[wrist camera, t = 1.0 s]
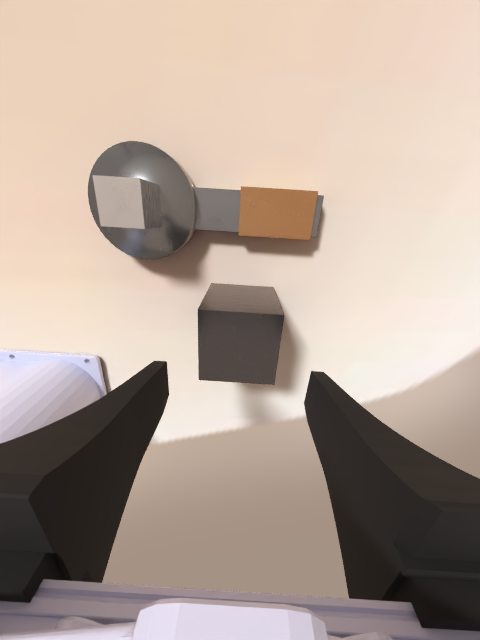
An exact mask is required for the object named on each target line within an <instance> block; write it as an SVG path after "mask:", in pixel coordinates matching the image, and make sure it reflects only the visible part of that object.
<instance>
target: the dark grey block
mask: <svg viewBox="0 0 480 640" xmlns="http://www.w3.org/2000/svg"><path fill="white" fill-rule="evenodd" d="M283 319H284V313H283V311H282V308H281V306H280V303H279V300H278V298H277V295H276V293H275V290H274V287H261V286H245V285H230V284H214V283H211V285H210V287H209V289H208V291H207V293H206V295H205V297H204V299H203V301H202V303H201V304H200V306H199V308H198V355H199V380H208V381H224V382H240V383H256V384H272V385H274V382H275V375H276V368H277V361H278V354H279V347H280V340H281V333H282V326H283Z"/></svg>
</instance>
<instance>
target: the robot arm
mask: <svg viewBox="0 0 480 640" xmlns="http://www.w3.org/2000/svg"><path fill="white" fill-rule="evenodd" d="M87 359H88V360H89V361H88V360H87ZM168 396H169V388H168V374H167V362H164V361H153V362H152V363H151V364H149V365H148V366H146V367H145V368H144V369H142V370H141V371H140V372H138V373H137V374H136V375H134V376H133V377H131V378H130V379H129V380H127V381H126V382H125V383H123V384H122V385H120V386H119V387H117V388H115V389H114V390H112V391H111V392H109V393H108V394H107V391H106V387H105V382H104V377H103V372H102V367H101V363H100V359H99V358H98V357H97V356H95V355H81V354H65V353H49V352H33V351H17V350H0V640H480V479H478V478H476V477H474V476H472V475H470V474H468V473H466V472H464V471H462V470H460V469H458V468H456V467H454V466H452V465H451V464H449V463H447V462H445V461H443V460H441V459H439V458H438V457H436V456H434V455H432V454H431V453H429V452H427V451H425V450H424V449H422V448H420V447H419V446H417V445H415V444H414V443H412V442H410V441H409V440H407V439H406V438H404V437H403V436H401V435H399V434H398V433H397V432H395V431H394V430H392V429H391V428H389V427H388V426H387V425H385V424H384V423H382V422H381V421H380V420H378V419H377V418H376V417H374V416H373V415H372V414H371V413H369V412H368V411H367V410H366V409H364V408H363V407H362V406H361V405H360V404H358V403H357V402H356V401H355V400H354V399H353V398H352V397H350V396H349V395H348V394H347V393H346V392H345V391H344V390H343V389H342V388H341V387H339V386H338V385H337V384H336V383H335V382H334V381H333V380H332V379H331V378H330V377H329V376H327V375H326V374H325V373H324V372H314V371H311V375H310V379H309V384H308V388H307V393H306V397H305V402H304V405H305V411H306V416H307V421H308V425H309V427H310V430H311V434H312V437H313V440H314V443H315V446H316V449H317V452H318V455H319V458H320V461H321V464H322V467H323V471H324V474H325V478H326V481H327V486H328V490H329V494H330V499H331V503H332V508H333V513H334V518H335V522H336V527H337V532H338V538H339V543H340V548H341V553H342V558H343V565H344V570H345V576H346V582H347V588H348V594H349V599H347V598H331V597H315V596H299V595H284V594H269V593H252V592H237V591H222V590H221V591H220V590H205V589H189V588H175V587H158V586H143V585H128V584H112V583H102V580H103V577H104V573H105V570H106V566H107V563H108V560H109V557H110V553H111V550H112V546H113V543H114V540H115V537H116V533H117V530H118V527H119V524H120V521H121V518H122V514H123V512H124V509H125V505H126V502H127V499H128V496H129V493H130V491H131V488H132V485H133V482H134V479H135V476H136V474H137V471H138V468H139V465H140V463H141V460H142V458H143V456H144V454H145V451H146V449H147V447H148V445H149V443H150V441H151V438H152V436H153V434H154V432H155V430H156V428H157V426H158V423H159V421H160V419H161V417H162V414H163V412H164V409H165V406H166V403H167V399H168Z"/></svg>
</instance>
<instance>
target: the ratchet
mask: <svg viewBox="0 0 480 640" xmlns="http://www.w3.org/2000/svg"><path fill="white" fill-rule="evenodd" d="M323 197H324V196H321V195H318V191H304V190H289V189H273V188H257V187H242V186H241V190H226V189H211V188H195V186H194V184H193V182H192V180H191V178H190V177H189V175H188V174H187V172H186V171H185V170H184V168H183V167H182V166H181V165H180V164H179V163H178V162H176V161H175V160H174V159H173V158H171V157H170V156H169V155H168V154H166V153H165V152H164V151H162V150H160V149H159V148H157V147H155V146H153V145H150V144H147V143H144V142H137V141H128V142H122V143H119V144H116V145H114V146H112V147H110V148H108V149H107V150H106V151H105V152H103V153H102V154H101V156H100V157H99V158H98V159H97V161H96V162H95V164H94V166H93V168H92V171H91V174H90V177H89V183H88V198H89V204H90V209H91V212H92V215H93V217H94V220H95V222H96V224H97V226H98V227H99V229H100V230H101V232H102V233H103V234H104V236H105V237H106V238H107V239H108V240H109V241H110V242H111V243H112V244H113V245H114V246H115V247H117V248H118V249H120V250H121V251H123V252H125V253H126V254H128V255H131V256H133V257H137V258H141V259H158V258H162V257H166V256H168V255H170V254H172V253H174V252H176V251H178V250H180V249H181V248H182V247H184V246H185V245H186V244H187V243H188V242H189V240H190V239H191V238H192V236H193V234H194V232H195V230H196V229H198V230H214V231H230V232H239V235H241V236H256V237H272V238H288V239H303V240H310V237H317V231H318V226H319V220H320V214H321V209H322V203H323Z"/></svg>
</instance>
